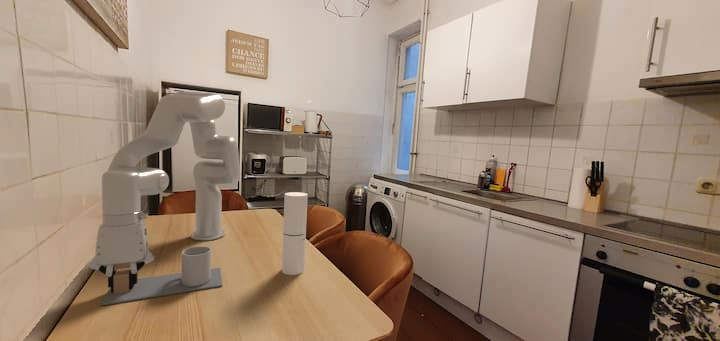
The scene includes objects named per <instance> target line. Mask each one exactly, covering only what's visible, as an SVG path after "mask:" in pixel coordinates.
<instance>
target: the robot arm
mask: <svg viewBox="0 0 720 341" xmlns="http://www.w3.org/2000/svg"><path fill="white" fill-rule="evenodd" d="M225 103H226V102H225V101H224V99H223V97H222V96H221V95H220V94H218V93H212V92H211V93H210V92H199V91H197V92H196V91H177V92H174V93H173V94H166V95H164V96H162V97H161V98H160V99H159V102H158V103H157V104H156V107H155V109H154V111H153V114H152V116H151V118H150V120H149V122H148V125H147V127H146V129H145V131H143V133H141V134H140V135H137V136H136V137H135V138H133V139H131V140H130V141H129V142H128V143H126V144H125V145H123V146H122V147H121V148H120V149H119V150H118V151H117V152H116V154H114V156H113V159H112V161H111V162H110V164H109V167H108V169H107V170H106V171H105V172H104V173H103V174H102V176H101V203H102V206H101V208H102V223H101V224H99V227H98V230H97V235H96V243H95V252H94V253H95V254H94V257H93V258H92V260H91V261H90V263H89V265H88V268H89V269H92V270H96V271H98V272H100V273H102V274H104V275H105V277H107V285H108V286H107V288H110V289H111V292H114V278H113V276H114V274H115V273H116V271H117V270H116V265H123V264H129V266H130V268H131V271H130V274H129V289H133V287H134V285H135V284H137V281H138V279H139V277H138V271H140V269H142V268H143V267H144V266H145V265H148V264H149V263H151V262H153V261H154V260H155V256H154V255H153V253H152V252H151V250H149V242H148V231H147V226H146V222H145V221H144V219H148V218H149V217H148V215H149V213H147V212H146V213H145V212H143V211H142V209H141V206H142V205H141V203H142V201H141V199H142V197H143V196H154V195H158V194H161V193H163V192H164V191H166V190H167V188H168V186H169V184H170V177H169V175H168V174H167V172H166V171H165V170H162V169H161V168H157V167H155V168H154V167H144V166H143V167H142V166H137V164H139V162H140V161H142V160H143V159H145V158H146V157H148V156H150V155H153V154H155V153H158V152H161V151H164V150H167V149H170V148H173V147H175V146H176V145H177V144H178V143H179V139H180V136H181V134H182V132H183V129H184V127H185V125H186V123H188V124H189V126H190V131H191V137H192V144H193V149H194V153H195V155H196V157H198V158H200V159H205V160H200V161H198V162H196V163H195V165H194V167H193V170H192V172H193V174H192V176H193V179H194V184H195V231H194V232H192V233H191V235H190V238H191V239H192V240H195V241H213V240H218V239H221V238H223V237H225V236H226V232H225V230H224V229H222V211H223V210H222V207H223V206H222V204H223V203H222V201H223V200H222V199H223V198H222V197H223V194H222V191H221V189H220V187H219V186H218V185H228V186H230V185H231V186H232V185H235V184H238V182H239V181H240V178H241V166H240V154H239V146H238V142H237V140H235V138H234V137H232V136H227V135H218V134H217V129H216V123H215V121H214V120H217V119H219V118H220V117H222V116H223V115H224V113H225V111H226V104H225ZM219 160H220V161H219Z"/></svg>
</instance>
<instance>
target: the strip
mask: <svg viewBox="0 0 720 341" xmlns="http://www.w3.org/2000/svg"><path fill="white" fill-rule="evenodd" d="M115 271H116V273H115V274H114V276H113V278H114V292H111V288H110V289H109V291H108V293H106V295H105V297H104V298H103V300H102V302H101V304H100V306H102V305H103V306H108V305H114V304H121V303H128V302H134V301H139V300H145V299H150V298H157V297H165V296H171V295H177V294H182V293H183V294H184V293H188V292H195V291H201V290H207V289H213V288H221V287H223V278H222V274H221V273H222V270H221V267H213V268H211V278H210V280H209V281H208V282H207V283H206V284H204V285H201V286H196V287H187V286H184V285H183V284H182V272H178V273H177V272H176V273H169V274H163V275H156V276H155V275H154V276H147V277H141V278H139V277H138V281H137V284H135V285H134V287H133V289H129V274H130V271H131V267H126V268H125V267H124V268H118V269H116V270H115Z"/></svg>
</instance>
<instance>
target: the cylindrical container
mask: <svg viewBox="0 0 720 341" xmlns="http://www.w3.org/2000/svg"><path fill="white" fill-rule="evenodd" d="M307 211H308V193H305V192H297V191H293V192H290V191H289V192H285V193H284V202H283V225H282V226H283V229H282V230H283V231H282V254H281V256H282V257H281V272H282V274H285V275H288V276H296V275H300V274H302V273H303V271H304V272H305V265H306V263H305V262H306V261H305V260H306V239H307V238H306V237H307V220H308V219H307V217H308V215H307V214H308V212H307Z"/></svg>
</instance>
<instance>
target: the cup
mask: <svg viewBox="0 0 720 341" xmlns="http://www.w3.org/2000/svg"><path fill="white" fill-rule="evenodd" d="M211 269H212V248H211V247H209V246H206V245H205V246H204V245H202V246H201V245H199V246H198V245H197V246H191V247H187V248H185V249H183V250H182V251H181V273H182V284H183V285H184V286H187V287H196V286H201V285H204V284H206V283H207V282H208V281H209V280H210V278H211Z"/></svg>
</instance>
